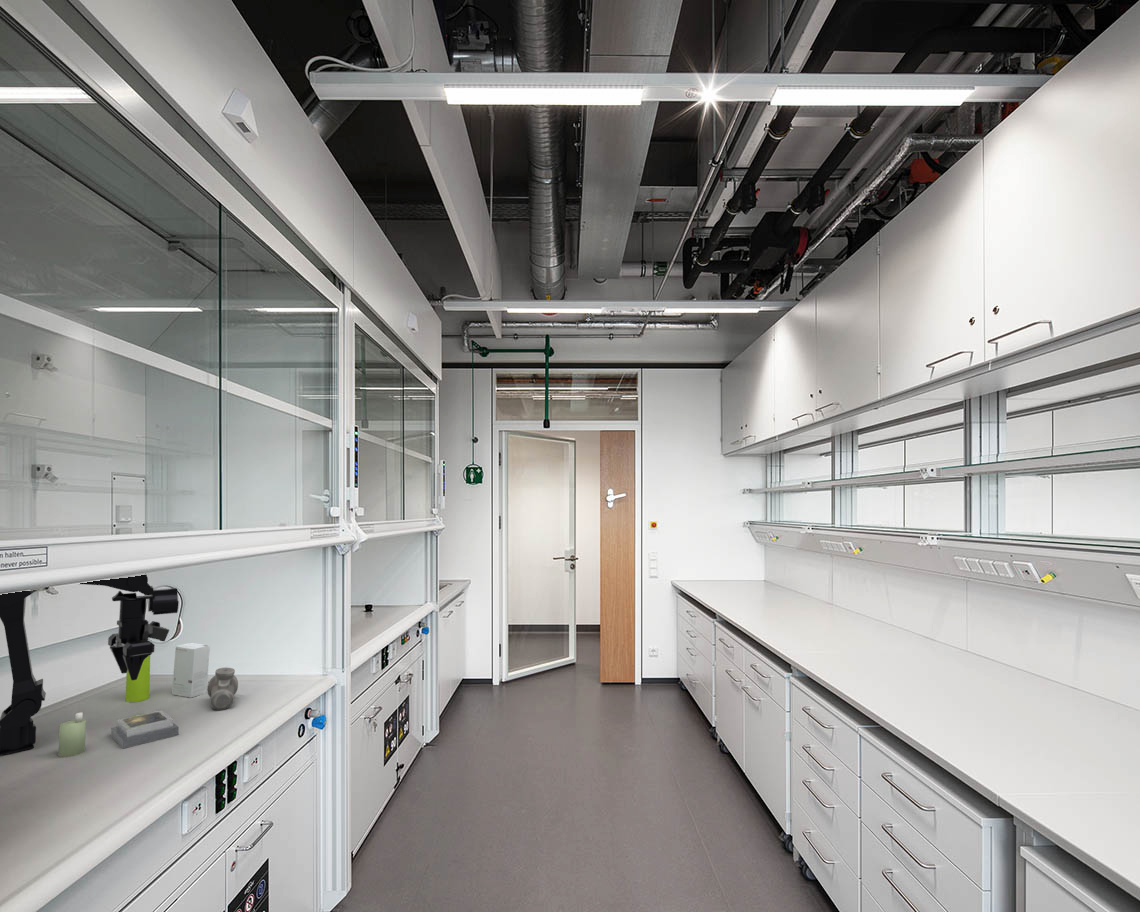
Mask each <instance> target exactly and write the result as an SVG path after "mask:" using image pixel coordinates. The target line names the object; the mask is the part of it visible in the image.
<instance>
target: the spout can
mask: <svg viewBox="0 0 1140 912" xmlns="http://www.w3.org/2000/svg"><path fill="white" fill-rule="evenodd" d="M83 715H84V713H83V711H81V712H76V713H75V715H74V716H75V717H74V719H71V720H68V721H67V720H66V721H64V722H62V723H60V724H59V726H58V727H59V728H58V729H59V730H58V755H57V756H58V757H60V758H70V757H75V756H78V755H81V754H83V753H85V750H86V725H87V724H86V723H87V721H86V719H83V718H84V717H83Z"/></svg>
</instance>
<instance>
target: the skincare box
mask: <svg viewBox="0 0 1140 912" xmlns="http://www.w3.org/2000/svg"><path fill="white" fill-rule="evenodd" d="M210 649H211V645H208V644H203V643H198V642H197V643H196V642H187V643H183V644H178V645H175V651H174V664H173V674H172V675H173V676H172V690H171V694H172V696H178V697H183V698H185V697H186V698H190V699H191V698H194V697H198V696H201V695H204V694H208V691H207V689H208V682H209V681H208V679H209V666H210V665H209V664H210Z"/></svg>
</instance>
